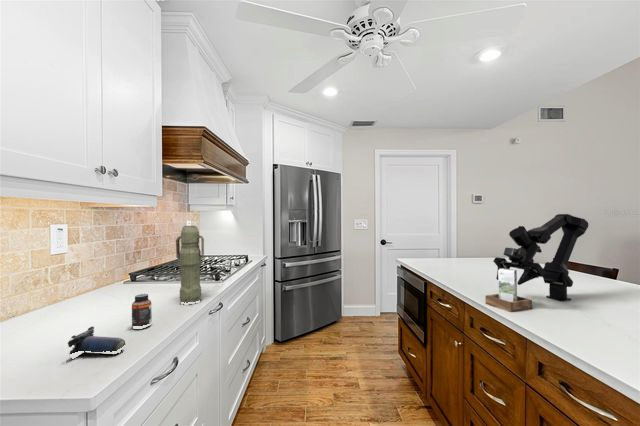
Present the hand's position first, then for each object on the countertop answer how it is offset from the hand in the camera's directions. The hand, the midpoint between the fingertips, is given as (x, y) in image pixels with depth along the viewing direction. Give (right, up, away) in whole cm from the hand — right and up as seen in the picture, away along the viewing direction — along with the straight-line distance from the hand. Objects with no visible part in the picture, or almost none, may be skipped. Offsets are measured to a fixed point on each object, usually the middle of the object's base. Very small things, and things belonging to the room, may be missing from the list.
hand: (507, 281), depth 117 cm
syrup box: (0, -10, 0) cm, 10 cm away
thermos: (-137, -13, +13) cm, 138 cm away
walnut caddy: (0, -10, 0) cm, 10 cm away
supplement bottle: (-141, -12, -16) cm, 142 cm away
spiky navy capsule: (-140, -12, -36) cm, 145 cm away
